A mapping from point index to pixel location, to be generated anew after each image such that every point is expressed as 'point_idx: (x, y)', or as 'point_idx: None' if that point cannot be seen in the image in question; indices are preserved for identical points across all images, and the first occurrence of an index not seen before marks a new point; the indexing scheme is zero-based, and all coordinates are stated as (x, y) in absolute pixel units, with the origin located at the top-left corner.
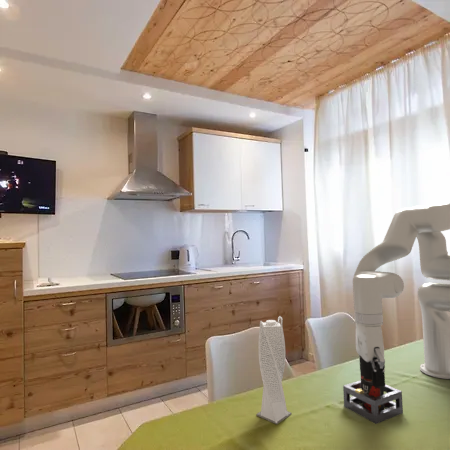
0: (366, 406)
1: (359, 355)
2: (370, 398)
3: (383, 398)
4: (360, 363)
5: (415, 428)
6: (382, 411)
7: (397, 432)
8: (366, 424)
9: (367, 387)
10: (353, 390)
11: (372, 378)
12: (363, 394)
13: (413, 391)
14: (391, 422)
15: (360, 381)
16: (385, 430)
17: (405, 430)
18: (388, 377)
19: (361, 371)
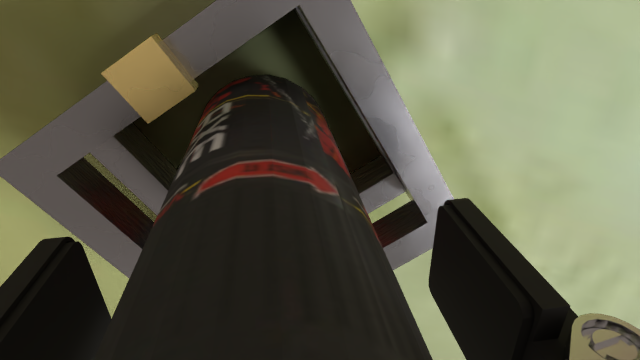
0: (216, 101)
1: (627, 332)
2: (29, 143)
3: (88, 240)
4: (254, 290)
5: (95, 276)
6: (142, 180)
7: (19, 193)
8: (55, 43)
9: (179, 171)
10: (188, 21)
11: (1, 293)
12: (107, 101)
13: (449, 345)
14: (127, 192)
15: (402, 145)
16: (17, 139)
17: (57, 233)
18: (604, 293)
19: (227, 211)
